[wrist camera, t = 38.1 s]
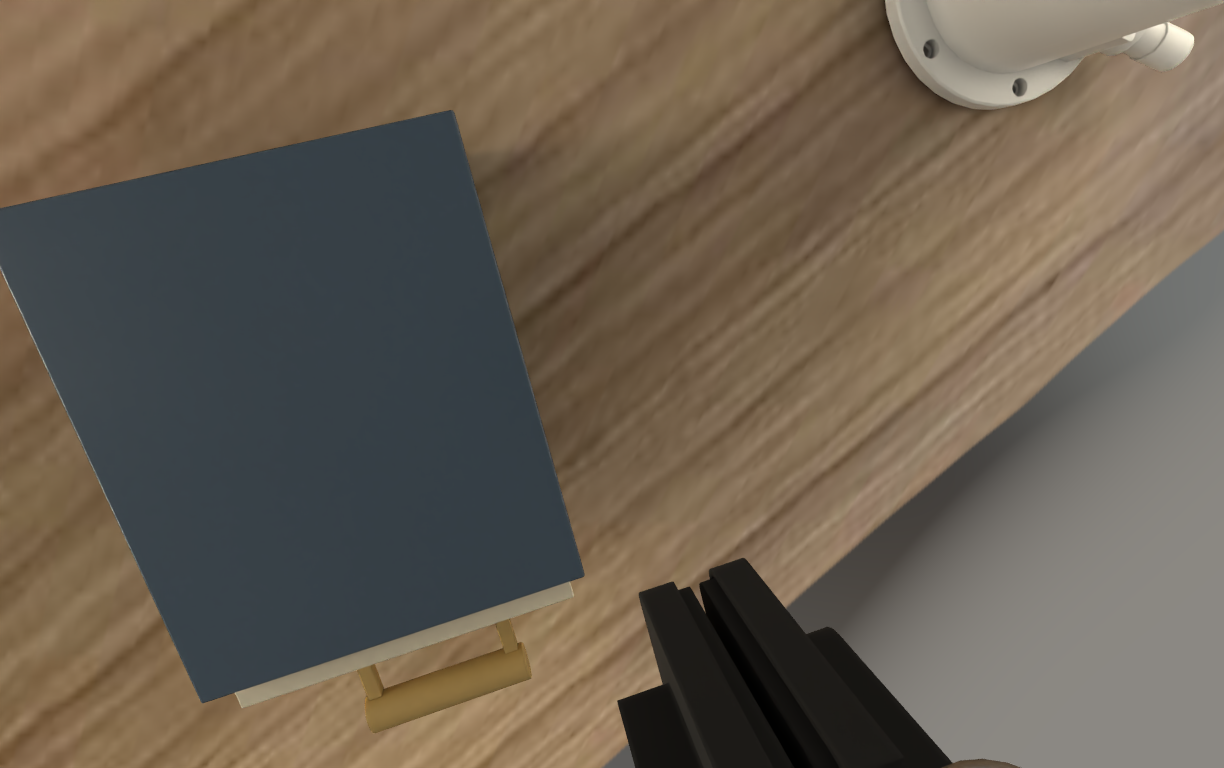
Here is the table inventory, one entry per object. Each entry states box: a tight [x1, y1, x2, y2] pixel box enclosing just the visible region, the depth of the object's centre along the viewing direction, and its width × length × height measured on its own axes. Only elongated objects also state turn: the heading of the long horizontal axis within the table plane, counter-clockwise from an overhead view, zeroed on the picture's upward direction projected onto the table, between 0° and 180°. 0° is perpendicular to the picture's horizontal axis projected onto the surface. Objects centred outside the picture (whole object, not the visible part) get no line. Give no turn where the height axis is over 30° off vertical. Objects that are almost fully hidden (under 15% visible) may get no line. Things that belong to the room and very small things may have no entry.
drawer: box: [235, 582, 574, 733], centre depth 27 cm, size 21×13×8 cm, turn 14°
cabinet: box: [0, 110, 584, 703], centre depth 26 cm, size 17×14×10 cm
